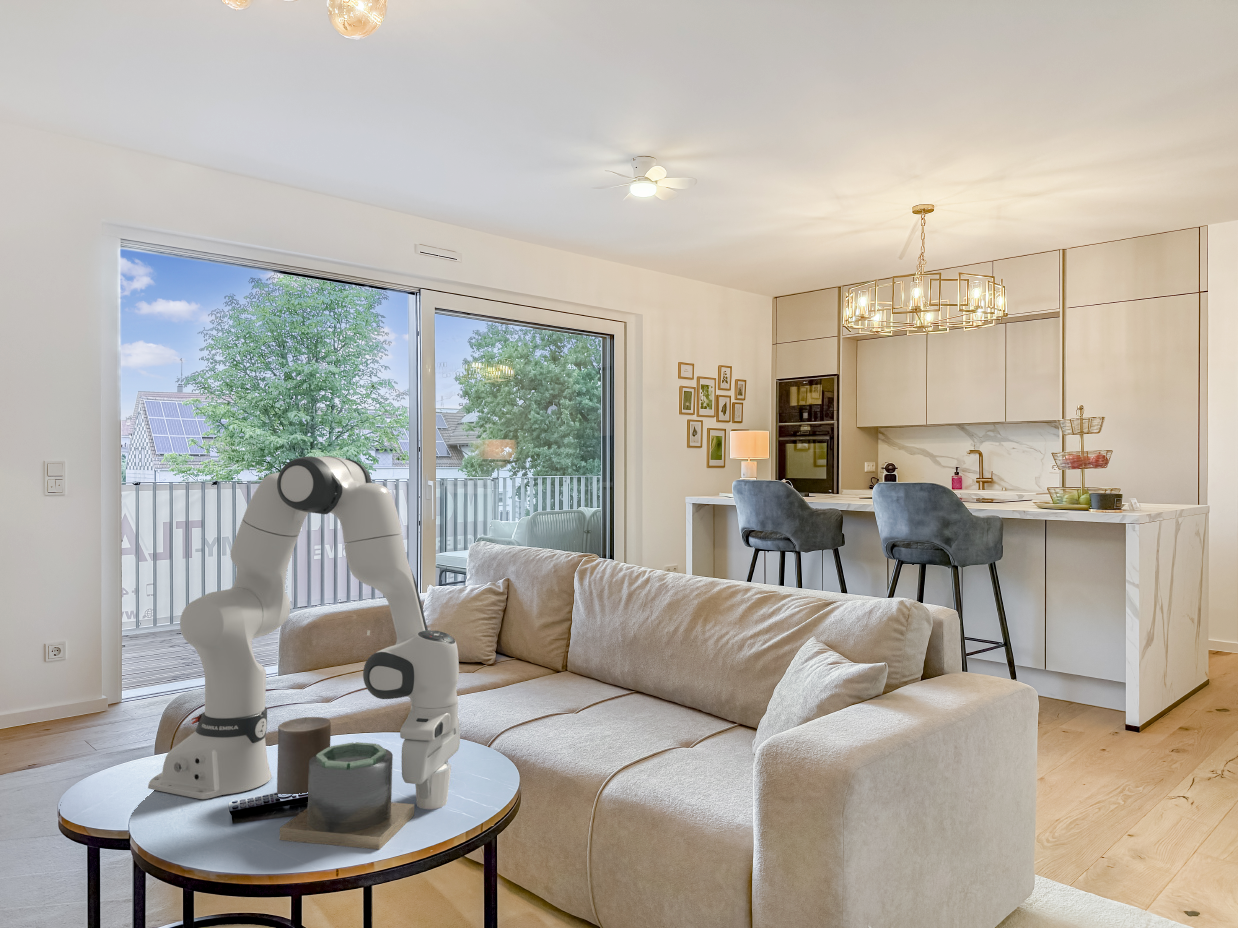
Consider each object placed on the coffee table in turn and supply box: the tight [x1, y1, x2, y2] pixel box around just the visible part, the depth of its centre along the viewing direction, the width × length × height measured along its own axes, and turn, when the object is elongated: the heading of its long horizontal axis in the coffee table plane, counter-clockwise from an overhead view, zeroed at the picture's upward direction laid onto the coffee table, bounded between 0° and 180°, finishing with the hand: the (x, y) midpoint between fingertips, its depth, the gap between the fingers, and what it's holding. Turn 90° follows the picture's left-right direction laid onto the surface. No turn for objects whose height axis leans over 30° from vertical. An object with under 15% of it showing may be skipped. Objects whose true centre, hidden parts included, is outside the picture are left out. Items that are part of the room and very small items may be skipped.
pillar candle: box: [276, 716, 332, 795], centre depth 154 cm, size 10×10×15 cm
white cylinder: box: [415, 762, 452, 810], centre depth 151 cm, size 7×7×7 cm
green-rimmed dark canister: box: [279, 741, 415, 850], centre depth 140 cm, size 18×14×13 cm
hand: (432, 790), depth 151 cm, fingers open, 5 cm apart
